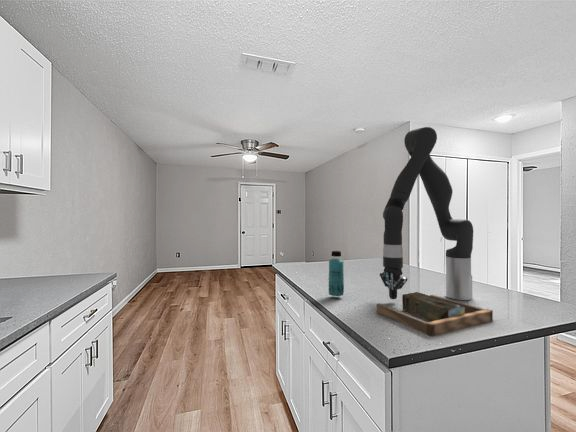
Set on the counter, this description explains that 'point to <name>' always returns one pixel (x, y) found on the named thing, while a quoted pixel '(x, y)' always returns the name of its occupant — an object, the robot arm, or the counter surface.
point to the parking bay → (444, 325)
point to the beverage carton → (430, 307)
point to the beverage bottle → (336, 275)
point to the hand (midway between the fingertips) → (393, 298)
